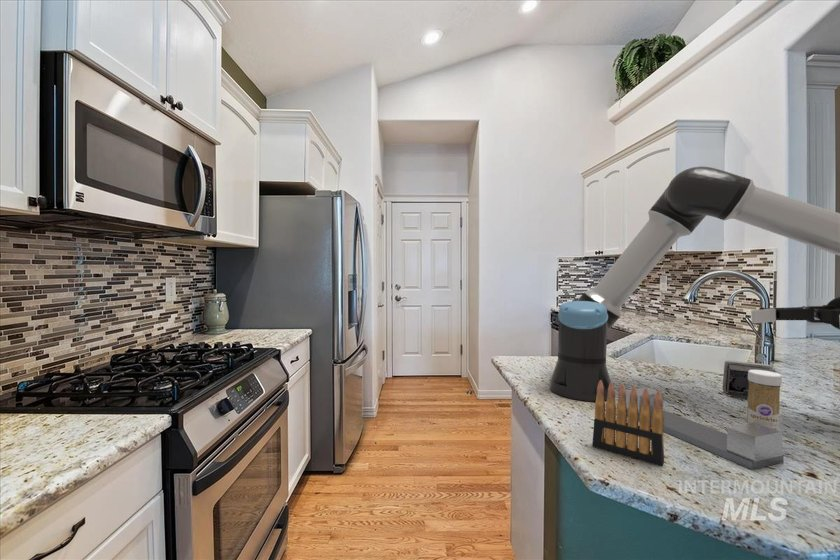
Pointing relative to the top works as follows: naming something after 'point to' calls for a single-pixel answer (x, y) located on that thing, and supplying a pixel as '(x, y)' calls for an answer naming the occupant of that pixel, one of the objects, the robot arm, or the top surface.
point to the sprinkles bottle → (764, 398)
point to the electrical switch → (739, 377)
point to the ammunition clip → (629, 425)
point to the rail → (723, 437)
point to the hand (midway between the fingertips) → (793, 319)
